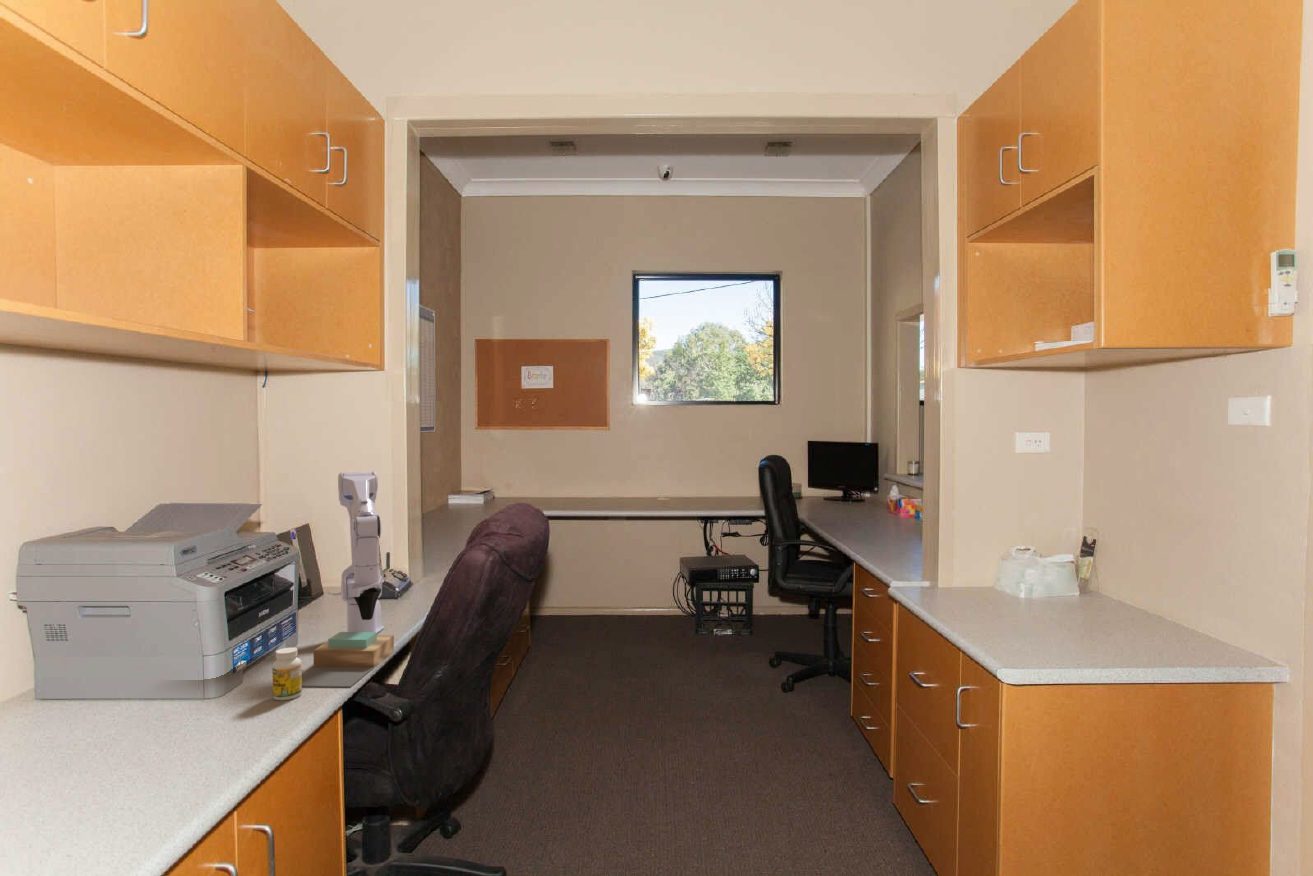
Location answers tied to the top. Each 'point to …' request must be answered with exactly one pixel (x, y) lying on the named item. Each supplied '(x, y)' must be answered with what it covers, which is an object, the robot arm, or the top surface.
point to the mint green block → (352, 640)
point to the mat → (333, 676)
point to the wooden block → (355, 654)
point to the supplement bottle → (287, 674)
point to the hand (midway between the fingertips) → (367, 619)
